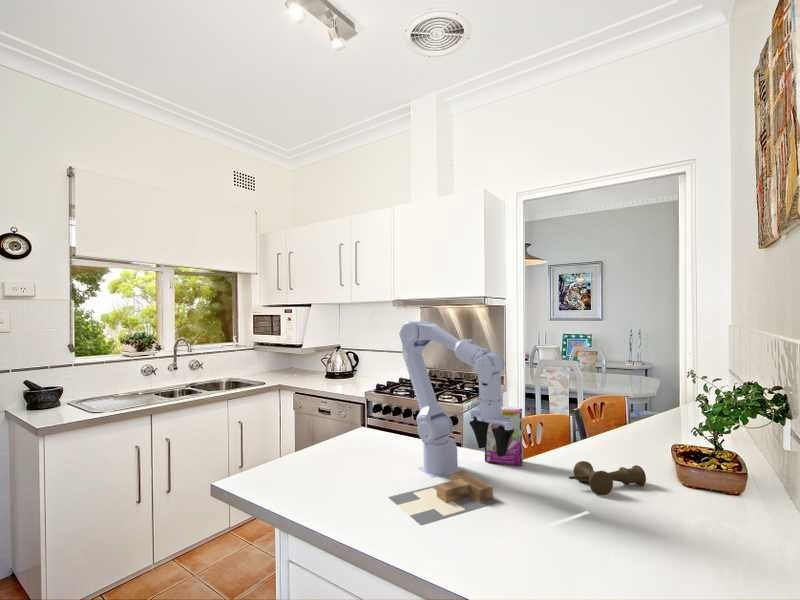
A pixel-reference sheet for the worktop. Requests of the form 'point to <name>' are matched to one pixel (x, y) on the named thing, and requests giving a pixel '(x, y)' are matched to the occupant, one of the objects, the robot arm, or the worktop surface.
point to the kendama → (607, 477)
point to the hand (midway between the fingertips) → (491, 451)
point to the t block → (464, 488)
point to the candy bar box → (515, 443)
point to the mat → (434, 505)
